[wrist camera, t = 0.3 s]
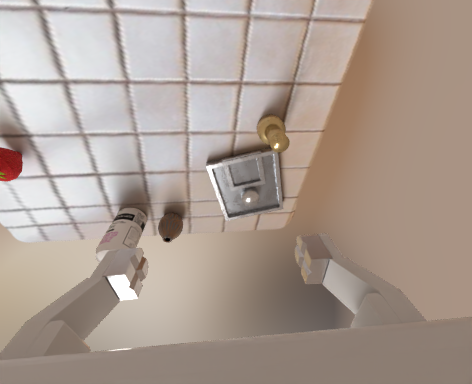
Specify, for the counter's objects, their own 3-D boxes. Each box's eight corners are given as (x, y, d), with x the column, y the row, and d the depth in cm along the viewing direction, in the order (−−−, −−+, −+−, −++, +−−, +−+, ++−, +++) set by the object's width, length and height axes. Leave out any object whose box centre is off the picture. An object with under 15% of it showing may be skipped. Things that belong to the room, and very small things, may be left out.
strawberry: (24, 138, 43) (-21, 158, 35) (43, 167, 47) (7, 192, 39) (-6, 137, 42) (-58, 158, 34) (16, 167, 47) (-25, 192, 39)
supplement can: (141, 228, 62) (123, 271, 50) (115, 218, 59) (88, 262, 47) (152, 213, 59) (135, 255, 47) (124, 201, 55) (98, 244, 43)
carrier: (206, 160, 49) (205, 167, 46) (275, 144, 48) (279, 150, 45) (225, 216, 62) (226, 224, 59) (281, 204, 60) (284, 212, 57)
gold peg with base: (254, 117, 44) (263, 133, 36) (280, 111, 43) (295, 125, 35) (258, 142, 47) (267, 161, 39) (282, 136, 47) (296, 154, 39)
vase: (156, 215, 59) (148, 237, 52) (174, 206, 58) (168, 227, 51) (172, 228, 63) (166, 250, 56) (188, 219, 61) (185, 241, 54)
